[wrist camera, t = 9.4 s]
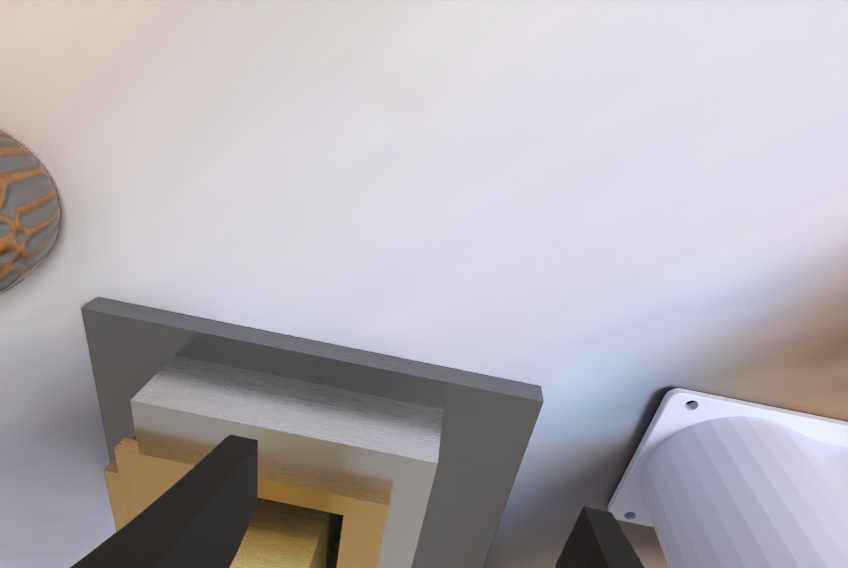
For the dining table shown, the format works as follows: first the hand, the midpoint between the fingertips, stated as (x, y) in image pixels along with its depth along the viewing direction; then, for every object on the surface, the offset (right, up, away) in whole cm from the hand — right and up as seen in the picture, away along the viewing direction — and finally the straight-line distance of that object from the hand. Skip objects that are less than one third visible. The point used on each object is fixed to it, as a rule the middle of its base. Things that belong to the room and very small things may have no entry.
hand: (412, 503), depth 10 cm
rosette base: (-6, -4, +14) cm, 16 cm away
